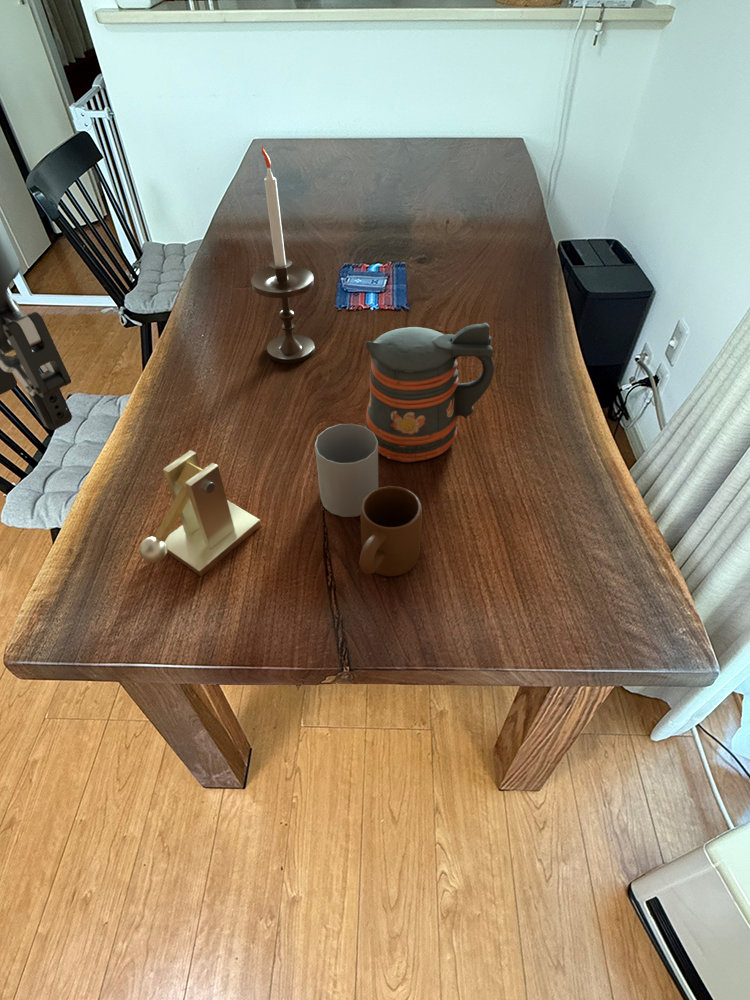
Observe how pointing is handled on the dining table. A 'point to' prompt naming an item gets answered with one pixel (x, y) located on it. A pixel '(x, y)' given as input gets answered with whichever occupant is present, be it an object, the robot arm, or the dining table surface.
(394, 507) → the mug
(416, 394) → the beer stein
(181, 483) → the switch lever
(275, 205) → the candlestick
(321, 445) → the cup
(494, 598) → the dining table surface
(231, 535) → the switch bracket
